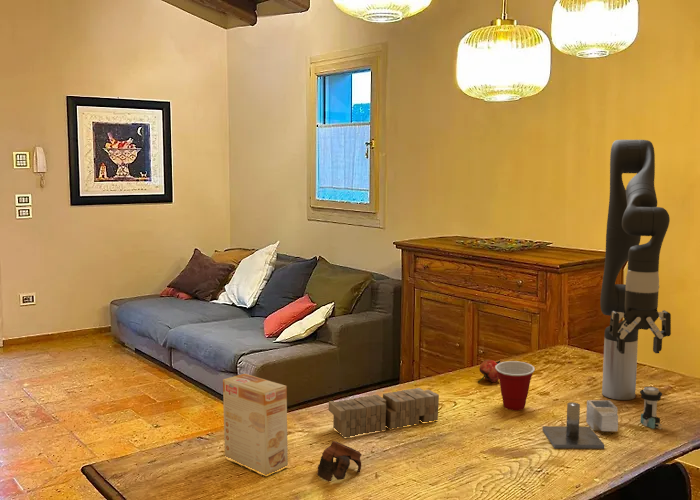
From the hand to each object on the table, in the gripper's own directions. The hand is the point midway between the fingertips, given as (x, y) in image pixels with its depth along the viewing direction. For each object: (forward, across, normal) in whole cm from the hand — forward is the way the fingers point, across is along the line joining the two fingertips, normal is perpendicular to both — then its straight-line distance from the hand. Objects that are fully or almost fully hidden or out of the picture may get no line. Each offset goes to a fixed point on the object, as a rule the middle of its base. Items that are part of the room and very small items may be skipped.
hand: (638, 352), depth 178 cm
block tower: (+22, +63, -8) cm, 67 cm away
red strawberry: (+23, +28, -46) cm, 59 cm away
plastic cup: (+22, +26, -22) cm, 40 cm away
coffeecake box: (+22, +93, +16) cm, 97 cm away
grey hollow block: (+22, +6, -6) cm, 24 cm away
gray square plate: (+22, +16, +1) cm, 27 cm away
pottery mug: (+22, +74, +22) cm, 80 cm away
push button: (+22, -7, -7) cm, 25 cm away
